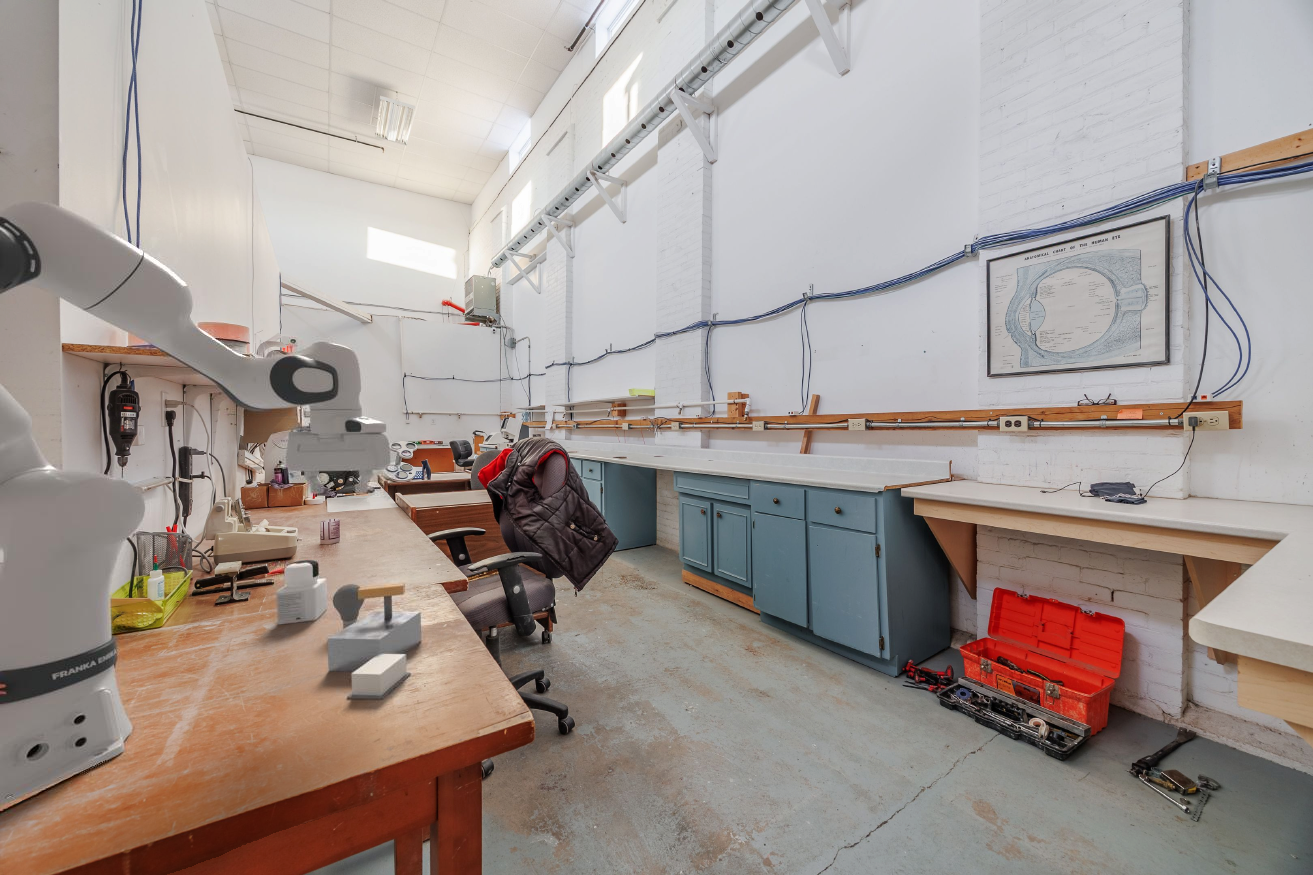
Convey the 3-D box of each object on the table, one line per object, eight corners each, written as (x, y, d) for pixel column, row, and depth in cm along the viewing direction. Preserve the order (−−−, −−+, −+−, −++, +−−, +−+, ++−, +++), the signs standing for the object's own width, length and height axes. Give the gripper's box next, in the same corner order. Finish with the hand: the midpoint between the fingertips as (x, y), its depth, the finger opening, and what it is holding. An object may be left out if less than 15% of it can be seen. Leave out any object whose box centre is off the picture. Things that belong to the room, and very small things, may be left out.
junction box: (380, 672, 88) (379, 639, 88) (328, 670, 88) (327, 638, 88) (421, 640, 101) (420, 611, 100) (375, 639, 101) (374, 611, 101)
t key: (359, 621, 96) (358, 590, 96) (361, 618, 97) (360, 587, 97) (404, 616, 98) (403, 585, 98) (405, 613, 100) (404, 583, 99)
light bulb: (372, 624, 109) (370, 580, 109) (353, 636, 103) (351, 589, 103) (347, 624, 110) (345, 580, 110) (327, 635, 104) (325, 589, 104)
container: (291, 612, 118) (289, 559, 117) (328, 608, 120) (326, 556, 120) (276, 625, 110) (274, 568, 110) (316, 620, 113) (314, 564, 112)
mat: (381, 699, 79) (381, 697, 79) (347, 698, 79) (346, 696, 79) (410, 674, 87) (410, 672, 87) (378, 673, 87) (378, 671, 87)
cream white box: (381, 695, 79) (380, 674, 79) (352, 694, 80) (351, 673, 80) (406, 673, 86) (405, 654, 86) (379, 672, 87) (379, 653, 87)
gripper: (275, 426, 96) (278, 495, 96) (373, 423, 94) (376, 494, 95) (301, 426, 102) (303, 491, 103) (393, 423, 101) (396, 490, 101)
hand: (339, 493), depth 99 cm, fingers open, 8 cm apart
